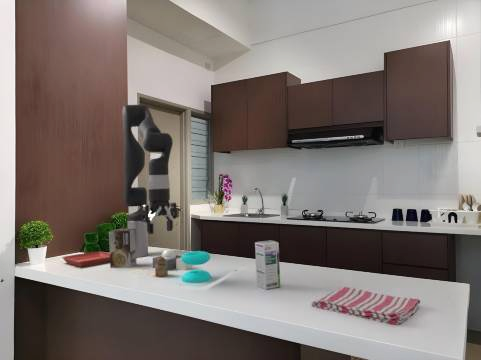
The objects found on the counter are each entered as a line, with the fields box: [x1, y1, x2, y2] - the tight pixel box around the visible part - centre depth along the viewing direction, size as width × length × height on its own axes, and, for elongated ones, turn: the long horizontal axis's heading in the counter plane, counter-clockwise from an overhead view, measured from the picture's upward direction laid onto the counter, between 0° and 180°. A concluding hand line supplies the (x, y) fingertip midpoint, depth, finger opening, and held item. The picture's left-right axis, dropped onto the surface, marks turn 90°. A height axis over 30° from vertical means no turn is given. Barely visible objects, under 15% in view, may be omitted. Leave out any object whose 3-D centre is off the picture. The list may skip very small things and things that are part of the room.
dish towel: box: [311, 286, 421, 326], centre depth 98 cm, size 17×23×4 cm
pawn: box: [154, 256, 169, 278], centre depth 134 cm, size 4×4×7 cm
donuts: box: [181, 250, 212, 284], centre depth 128 cm, size 10×10×10 cm
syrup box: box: [254, 240, 281, 290], centre depth 120 cm, size 6×6×14 cm
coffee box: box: [108, 228, 138, 269], centre depth 152 cm, size 9×6×16 cm
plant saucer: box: [61, 251, 110, 268], centre depth 167 cm, size 18×18×3 cm
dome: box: [161, 248, 177, 259], centre depth 148 cm, size 6×6×6 cm
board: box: [129, 254, 182, 279], centre depth 143 cm, size 20×22×5 cm
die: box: [175, 258, 192, 271], centre depth 144 cm, size 4×4×4 cm
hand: (160, 232), depth 134 cm, fingers open, 8 cm apart
